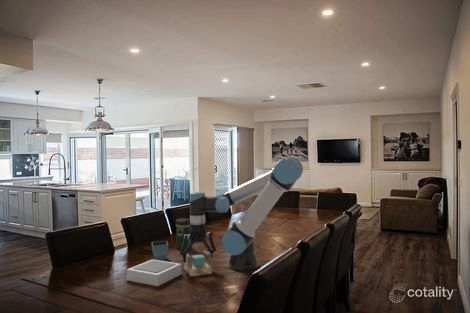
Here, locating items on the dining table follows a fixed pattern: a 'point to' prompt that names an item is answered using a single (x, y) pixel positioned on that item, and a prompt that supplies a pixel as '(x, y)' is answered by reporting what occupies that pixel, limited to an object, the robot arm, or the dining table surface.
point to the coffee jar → (182, 231)
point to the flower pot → (160, 250)
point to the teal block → (198, 260)
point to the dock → (154, 272)
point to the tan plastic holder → (200, 269)
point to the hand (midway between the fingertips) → (197, 267)
